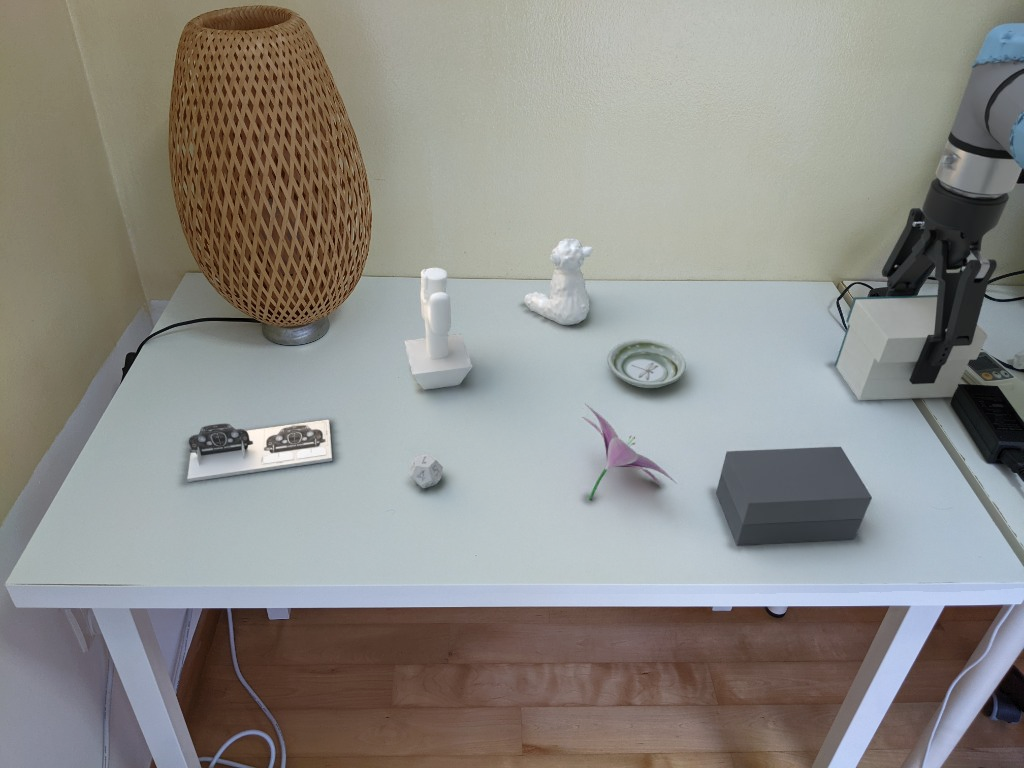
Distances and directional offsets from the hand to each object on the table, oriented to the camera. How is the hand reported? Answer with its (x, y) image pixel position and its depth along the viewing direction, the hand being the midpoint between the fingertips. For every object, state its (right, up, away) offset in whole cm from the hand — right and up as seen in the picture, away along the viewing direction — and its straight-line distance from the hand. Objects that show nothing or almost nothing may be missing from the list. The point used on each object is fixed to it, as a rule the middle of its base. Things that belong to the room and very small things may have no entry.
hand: (902, 357), depth 95 cm
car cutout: (-76, -11, -10) cm, 77 cm away
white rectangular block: (0, -3, +2) cm, 4 cm away
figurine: (-57, -3, +2) cm, 57 cm away
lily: (-37, -14, -13) cm, 41 cm away
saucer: (-31, -2, +3) cm, 32 cm away
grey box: (-20, -17, -16) cm, 31 cm away
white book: (0, +2, -2) cm, 3 cm away
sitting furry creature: (-41, +7, +14) cm, 43 cm away
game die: (-57, -14, -13) cm, 60 cm away
